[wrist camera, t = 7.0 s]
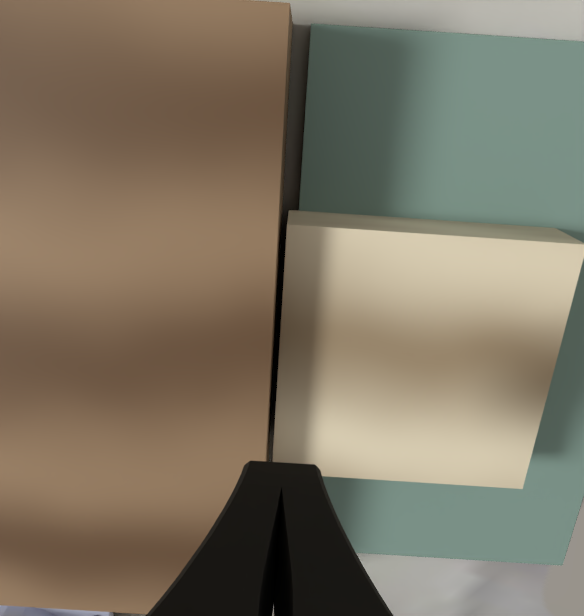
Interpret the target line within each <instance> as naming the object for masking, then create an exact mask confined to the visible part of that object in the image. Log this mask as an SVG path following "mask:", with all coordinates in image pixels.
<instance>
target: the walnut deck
mask: <svg viewBox="0 0 584 616" xmlns="http://www.w3.org/2000/svg"><path fill="white" fill-rule="evenodd" d="M292 27H293V22H292V15H291V8H290V3H281V2H266V1H251V0H0V605H3V606H19V607H36V608H52V609H68V610H85V611H101V612H117V613H133V614H148V612H149V611H150V610H151V609H152V608H153V607H154V605H155V604H156V603H157V602H158V601H159V599H160V598H161V597H162V596H163V595H164V593H165V592H166V591H167V589H168V588H169V587H170V586H171V584H172V583H173V582H174V581H175V579H176V578H177V577H178V575H179V574H180V573H181V571H182V570H183V568H184V567H185V566H186V564H187V563H188V561H189V560H190V559H191V557H192V556H193V555H194V553H195V552H196V550H197V549H198V548H199V546H200V545H201V543H202V542H203V540H204V539H205V537H206V536H207V534H208V533H209V531H210V529H211V528H212V526H213V525H214V523H215V521H216V520H217V518H218V516H219V515H220V513H221V512H222V510H223V508H224V507H225V505H226V503H227V501H228V499H229V497H230V496H231V494H232V492H233V490H234V488H235V486H236V484H237V482H238V480H239V477H240V475H241V473H242V470H243V467H244V465H245V464H246V463H248V462H249V461H267V462H269V443H270V425H271V407H272V389H273V371H274V353H275V335H276V317H277V299H278V281H279V263H280V244H281V226H282V208H283V190H284V172H285V154H286V136H287V118H288V100H289V82H290V64H291V45H292Z"/></svg>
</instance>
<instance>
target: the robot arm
mask: <svg viewBox="0 0 584 616" xmlns="http://www.w3.org/2000/svg"><path fill="white" fill-rule="evenodd" d="M273 605H274V616H393V614H392V613H391V611H390V610H389V608H388V607H387V605H386V604H385V602H384V600H383V599H382V597H381V596H380V594H379V593H378V591H377V589H376V587H375V586H374V584H373V582H372V581H371V579H370V577H369V576H368V574H367V572H366V571H365V569H364V567H363V565H362V564H361V562H360V560H359V558H358V556H357V555H356V553H355V551H354V549H353V547H352V545H351V543H350V541H349V539H348V537H347V535H346V533H345V531H344V529H343V527H342V525H341V523H340V521H339V519H338V516H337V514H336V512H335V510H334V507H333V505H332V503H331V500H330V498H329V495H328V493H327V490H326V487H325V484H324V481H323V478H322V475H321V470H320V469H319V468H318V467H317V466H316V465H315V464H300V463H283V462H267V461H249V462H248V463H246V464H245V465H244V467H243V470H242V473H241V475H240V477H239V480H238V482H237V484H236V486H235V488H234V490H233V492H232V494H231V496H230V497H229V499H228V501H227V503H226V505H225V507H224V508H223V510H222V512H221V513H220V515H219V516H218V518H217V520H216V521H215V523H214V525H213V526H212V528H211V529H210V531H209V533H208V534H207V536H206V537H205V539H204V540H203V542H202V543H201V545H200V546H199V548H198V549H197V550H196V552H195V553H194V555H193V556H192V557H191V559H190V560H189V561H188V563H187V564H186V566H185V567H184V568H183V570H182V571H181V573H180V574H179V575H178V577H177V578H176V579H175V581H174V582H173V583H172V584H171V586H170V587H169V588H168V589H167V591H166V592H165V593H164V595H163V596H162V597H161V598H160V599H159V601H158V602H157V603H156V604H155V605H154V607H153V608H152V609H151V610H150V611H149V612H148V614H147V615H146V616H272V612H273ZM0 616H114V615H113V612H101V611H85V610H68V609H52V608H36V607H19V606H3V605H0Z"/></svg>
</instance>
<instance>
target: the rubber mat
mask: <svg viewBox="0 0 584 616" xmlns="http://www.w3.org/2000/svg"><path fill="white" fill-rule="evenodd" d="M299 211H312V212H326V213H341V214H356V215H371V216H386V217H400V218H415V219H430V220H445V221H460V222H474V223H489V224H504V225H519V226H533V227H548V228H556V229H558V230H560V231H562V232H564V233H566V234H568V235H570V236H571V237H573V238H575V239H577V240H579V241H581V242H583V243H584V42H583V41H567V40H552V39H537V38H522V37H507V36H492V35H477V34H462V33H447V32H432V31H417V30H402V29H387V28H372V27H357V26H341V25H326V24H311V34H310V49H309V64H308V79H307V94H306V109H305V125H304V140H303V155H302V170H301V185H300V200H299ZM322 478H323V481H324V484H325V487H326V490H327V493H328V495H329V498H330V500H331V503H332V505H333V507H334V510H335V512H336V514H337V516H338V519H339V521H340V523H341V525H342V527H343V529H344V531H345V533H346V535H347V537H348V539H349V541H350V543H351V545H352V547H353V549H354V551H355V553H369V554H386V555H402V556H418V557H434V558H450V559H466V560H482V561H498V562H515V563H531V564H547V565H563V561H564V558H565V555H566V552H567V549H568V545H569V542H570V539H571V536H572V532H573V529H574V526H575V523H576V520H577V516H578V513H579V510H580V507H581V503H582V500H583V497H584V259H583V262H582V266H581V270H580V274H579V277H578V281H577V285H576V289H575V293H574V296H573V300H572V304H571V308H570V312H569V315H568V319H567V323H566V327H565V330H564V334H563V338H562V342H561V346H560V349H559V353H558V357H557V361H556V364H555V368H554V372H553V376H552V380H551V383H550V387H549V391H548V395H547V398H546V402H545V406H544V410H543V414H542V417H541V421H540V425H539V429H538V433H537V436H536V440H535V444H534V448H533V451H532V455H531V459H530V463H529V467H528V470H527V474H526V478H525V482H524V485H523V489H514V488H498V487H483V486H467V485H452V484H436V483H421V482H405V481H389V480H374V479H358V478H343V477H327V476H322Z"/></svg>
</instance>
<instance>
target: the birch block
mask: <svg viewBox="0 0 584 616" xmlns="http://www.w3.org/2000/svg"><path fill="white" fill-rule="evenodd" d="M583 259H584V243H583V242H581V241H579V240H577V239H575V238H573V237H571V236H570V235H568V234H566V233H564V232H562V231H560V230H558V229H556V228H548V227H533V226H519V225H504V224H489V223H474V222H460V221H445V220H430V219H415V218H400V217H386V216H371V215H356V214H341V213H326V212H312V211H297V210H289V212H288V221H287V234H286V250H285V266H284V282H283V298H282V315H281V331H280V347H279V363H278V379H277V396H276V412H275V428H274V444H273V460H272V462H283V463H300V464H315V465H316V466H317V467H318V468H319V469H320V470H321V475H322V476H327V477H343V478H358V479H374V480H389V481H405V482H421V483H436V484H452V485H467V486H483V487H498V488H514V489H523V485H524V482H525V478H526V474H527V470H528V467H529V463H530V459H531V455H532V451H533V448H534V444H535V440H536V436H537V433H538V429H539V425H540V421H541V417H542V414H543V410H544V406H545V402H546V398H547V395H548V391H549V387H550V383H551V380H552V376H553V372H554V368H555V364H556V361H557V357H558V353H559V349H560V346H561V342H562V338H563V334H564V330H565V327H566V323H567V319H568V315H569V312H570V308H571V304H572V300H573V296H574V293H575V289H576V285H577V281H578V277H579V274H580V270H581V266H582V262H583Z"/></svg>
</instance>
